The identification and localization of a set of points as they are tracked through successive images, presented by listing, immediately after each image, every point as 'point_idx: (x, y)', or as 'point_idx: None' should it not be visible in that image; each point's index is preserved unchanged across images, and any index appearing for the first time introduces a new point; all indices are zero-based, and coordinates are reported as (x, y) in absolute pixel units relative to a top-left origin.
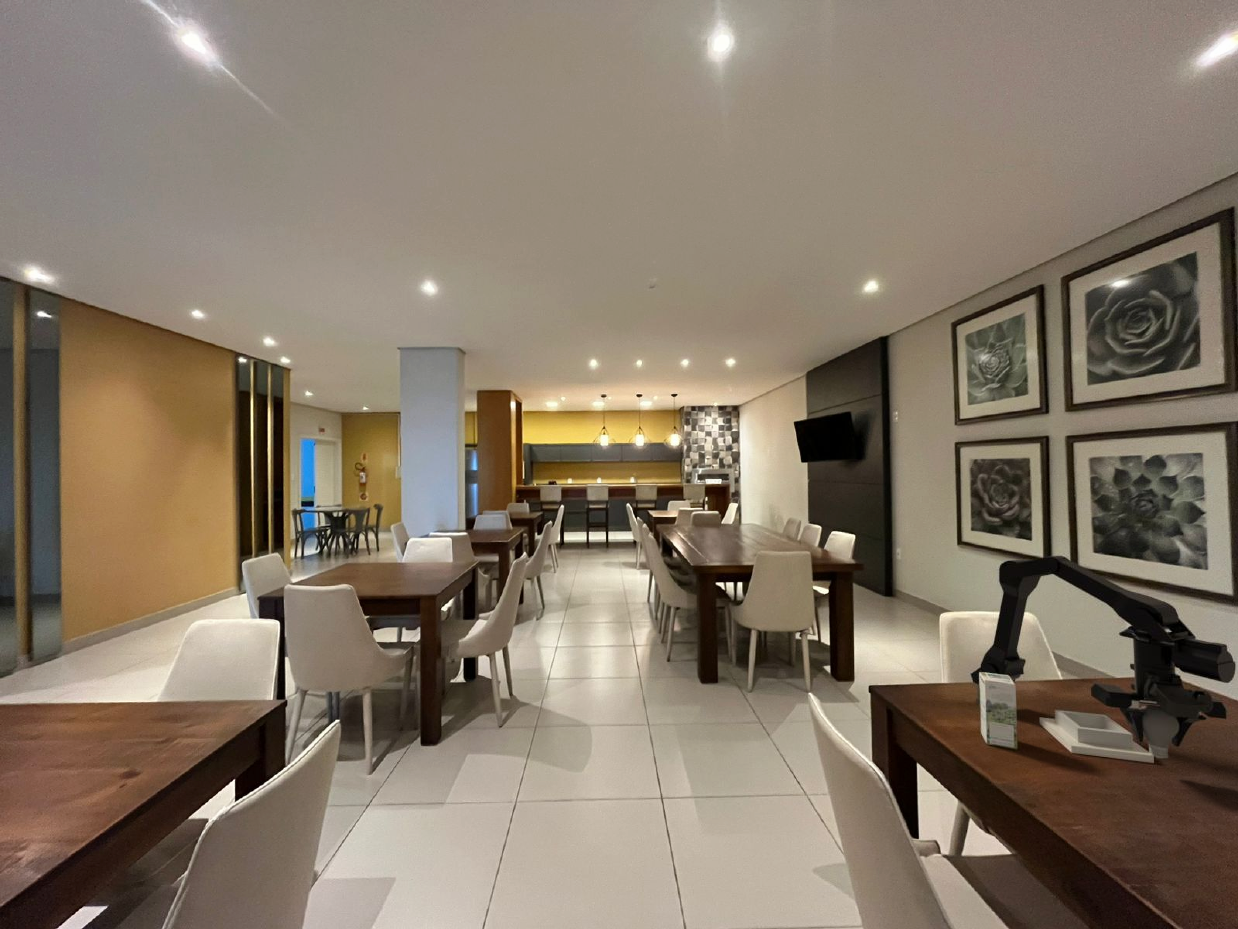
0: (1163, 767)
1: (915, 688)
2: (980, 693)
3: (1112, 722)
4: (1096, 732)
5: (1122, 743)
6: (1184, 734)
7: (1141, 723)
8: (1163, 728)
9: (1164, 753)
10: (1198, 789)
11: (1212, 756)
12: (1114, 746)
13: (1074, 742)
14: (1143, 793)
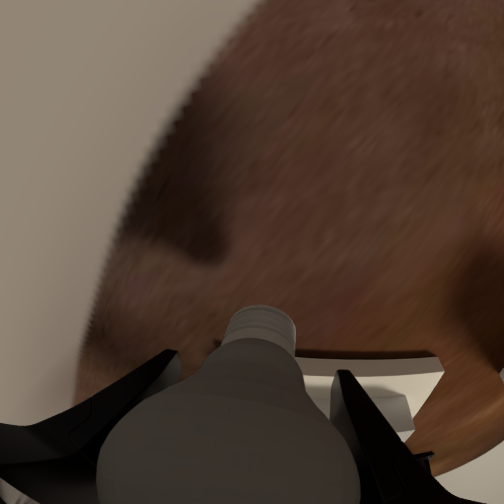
0: (221, 332)
1: (457, 465)
2: None
3: None
4: None
5: None
6: (107, 389)
7: (377, 471)
8: (260, 445)
9: (250, 321)
10: (200, 204)
11: (96, 372)
12: (315, 398)
13: (417, 391)
14: (427, 131)
